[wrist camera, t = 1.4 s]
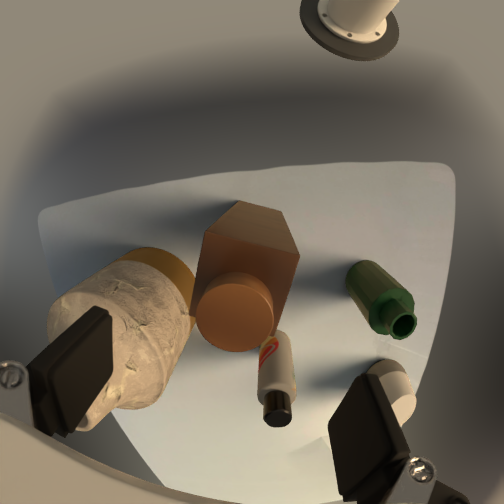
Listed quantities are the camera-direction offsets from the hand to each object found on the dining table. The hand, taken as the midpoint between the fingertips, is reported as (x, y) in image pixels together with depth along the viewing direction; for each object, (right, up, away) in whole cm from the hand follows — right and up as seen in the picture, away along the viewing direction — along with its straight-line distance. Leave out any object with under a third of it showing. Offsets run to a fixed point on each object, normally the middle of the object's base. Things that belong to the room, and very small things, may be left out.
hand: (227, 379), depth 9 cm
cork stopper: (0, +2, +12) cm, 12 cm away
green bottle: (+21, 0, +38) cm, 43 cm away
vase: (-17, -3, +41) cm, 45 cm away
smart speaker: (+29, -21, +43) cm, 56 cm away
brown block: (+1, +9, +37) cm, 38 cm away
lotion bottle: (+5, -12, +42) cm, 44 cm away
